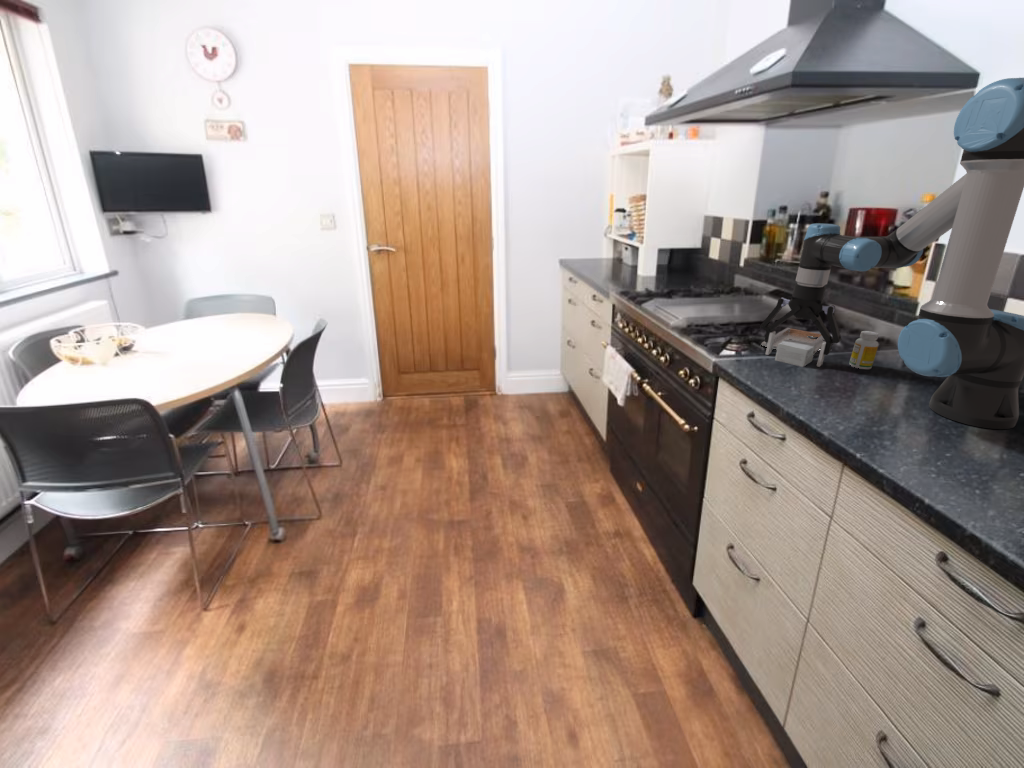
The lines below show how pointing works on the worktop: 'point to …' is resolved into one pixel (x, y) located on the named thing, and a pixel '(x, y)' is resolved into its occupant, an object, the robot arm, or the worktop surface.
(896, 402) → the worktop surface
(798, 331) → the board
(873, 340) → the supplement bottle
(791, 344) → the small box
